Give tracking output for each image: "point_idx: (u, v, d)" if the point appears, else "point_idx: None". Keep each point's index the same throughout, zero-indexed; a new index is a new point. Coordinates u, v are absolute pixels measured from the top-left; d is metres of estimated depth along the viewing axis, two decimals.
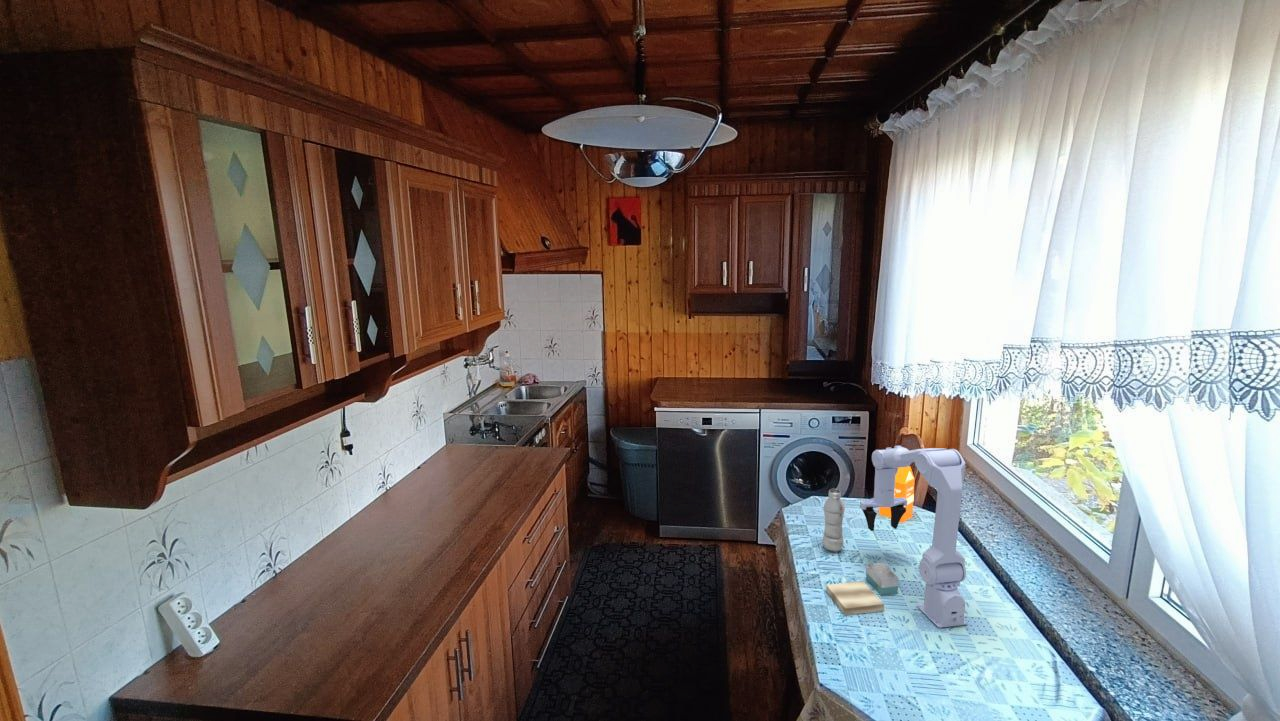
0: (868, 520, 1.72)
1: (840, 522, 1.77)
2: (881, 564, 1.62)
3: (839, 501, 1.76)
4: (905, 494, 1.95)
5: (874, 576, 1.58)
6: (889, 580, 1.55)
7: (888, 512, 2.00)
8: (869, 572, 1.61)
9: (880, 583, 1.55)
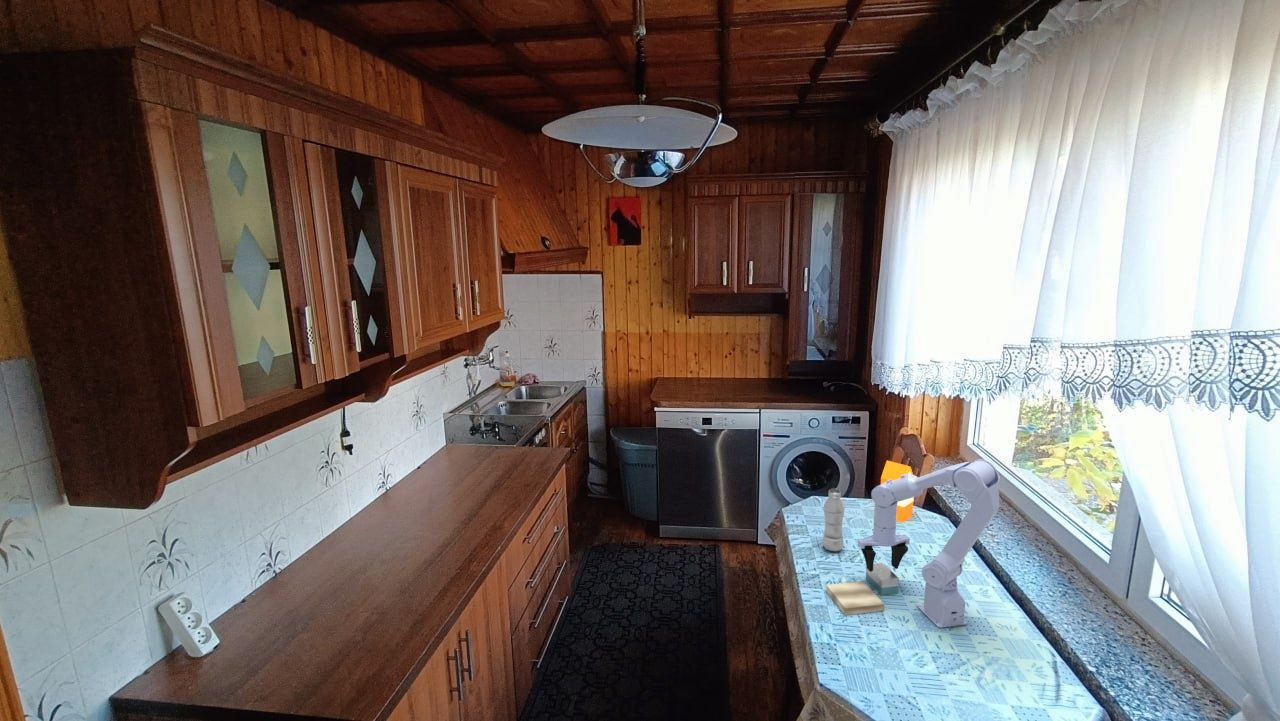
0: (867, 559, 1.58)
1: (840, 522, 1.77)
2: (881, 564, 1.62)
3: (839, 501, 1.76)
4: None
5: (874, 576, 1.58)
6: (889, 579, 1.55)
7: None
8: (869, 572, 1.61)
9: (880, 583, 1.55)
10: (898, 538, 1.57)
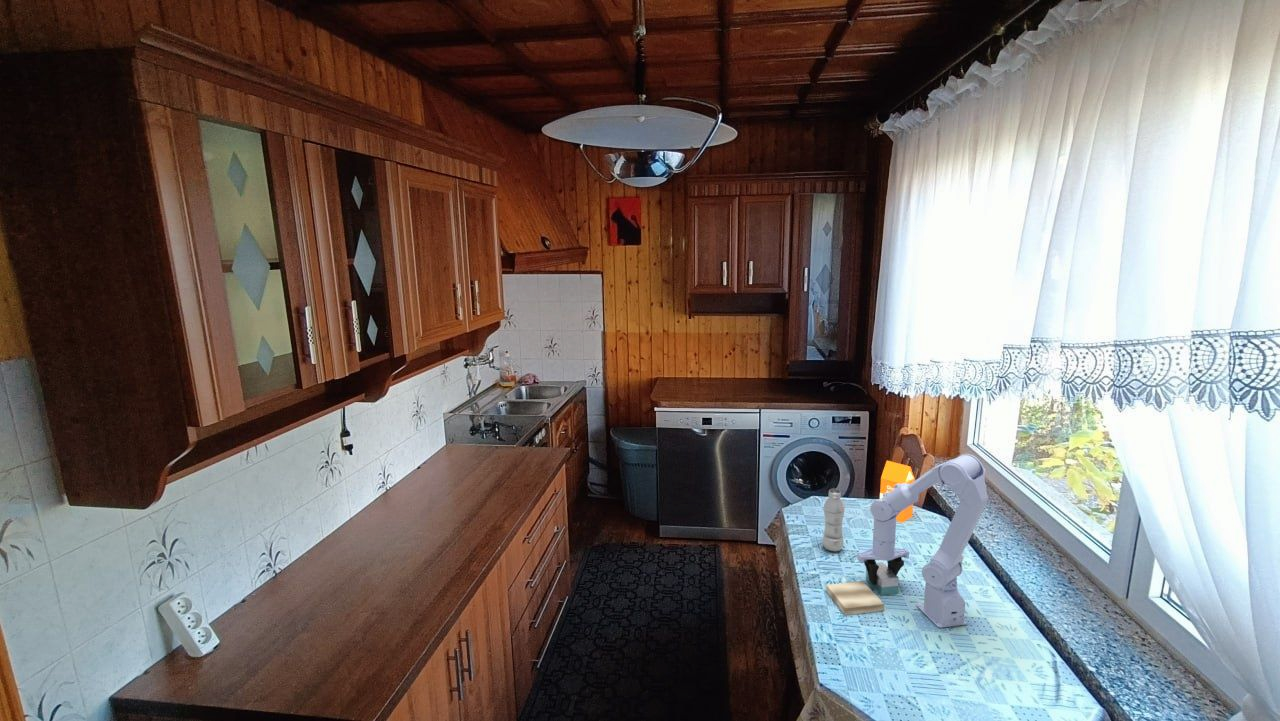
0: (869, 573, 1.59)
1: (840, 522, 1.77)
2: (881, 563, 1.62)
3: (839, 501, 1.76)
4: None
5: None
6: (889, 579, 1.55)
7: None
8: None
9: (880, 583, 1.55)
10: (897, 552, 1.58)
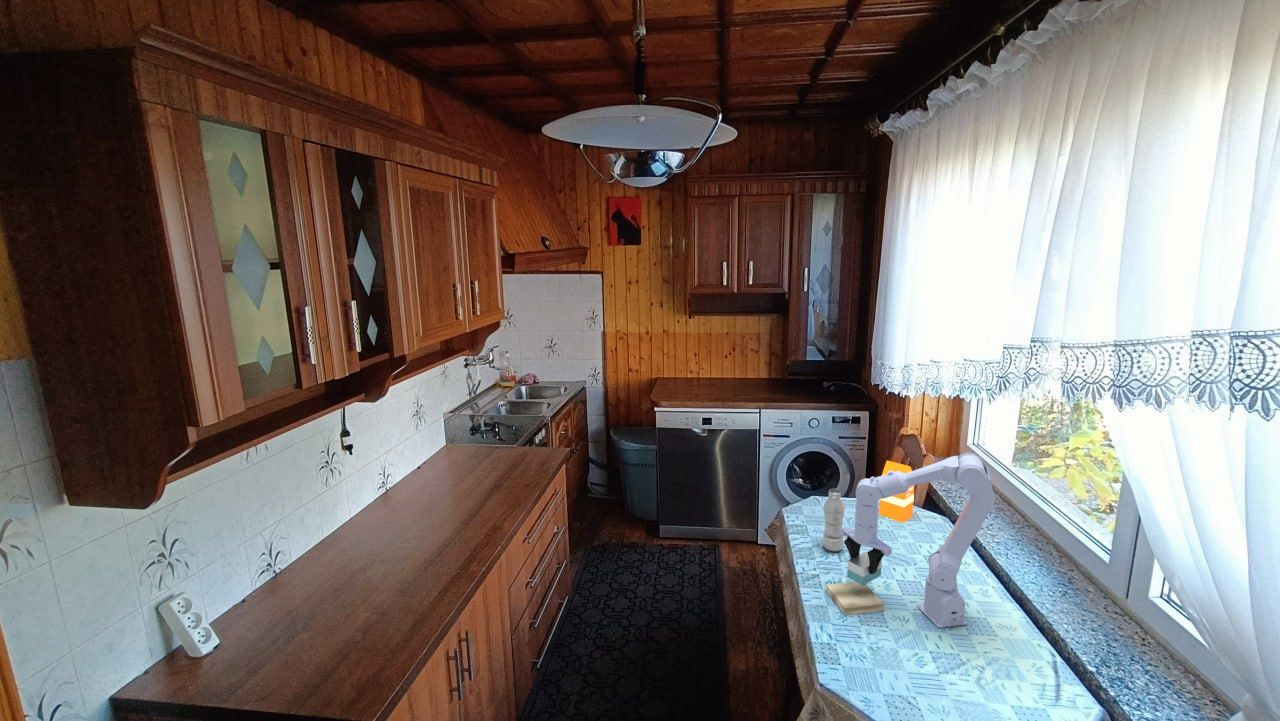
0: None
1: (840, 522, 1.77)
2: None
3: (839, 501, 1.76)
4: (905, 494, 1.95)
5: None
6: (855, 565, 1.52)
7: (888, 512, 2.00)
8: None
9: None
10: (878, 545, 1.49)
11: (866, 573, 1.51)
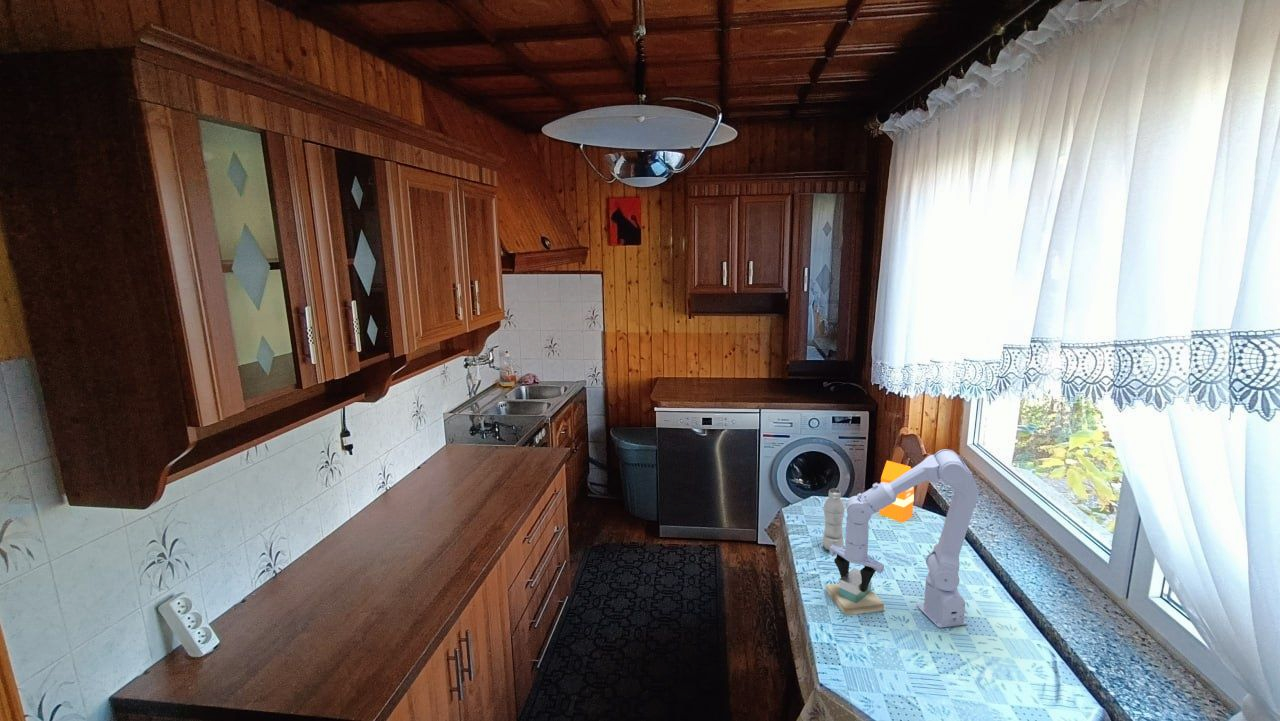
0: None
1: (840, 522, 1.77)
2: None
3: (839, 501, 1.76)
4: (905, 494, 1.95)
5: None
6: (847, 583, 1.50)
7: (888, 512, 2.00)
8: None
9: None
10: (870, 562, 1.48)
11: (859, 591, 1.49)
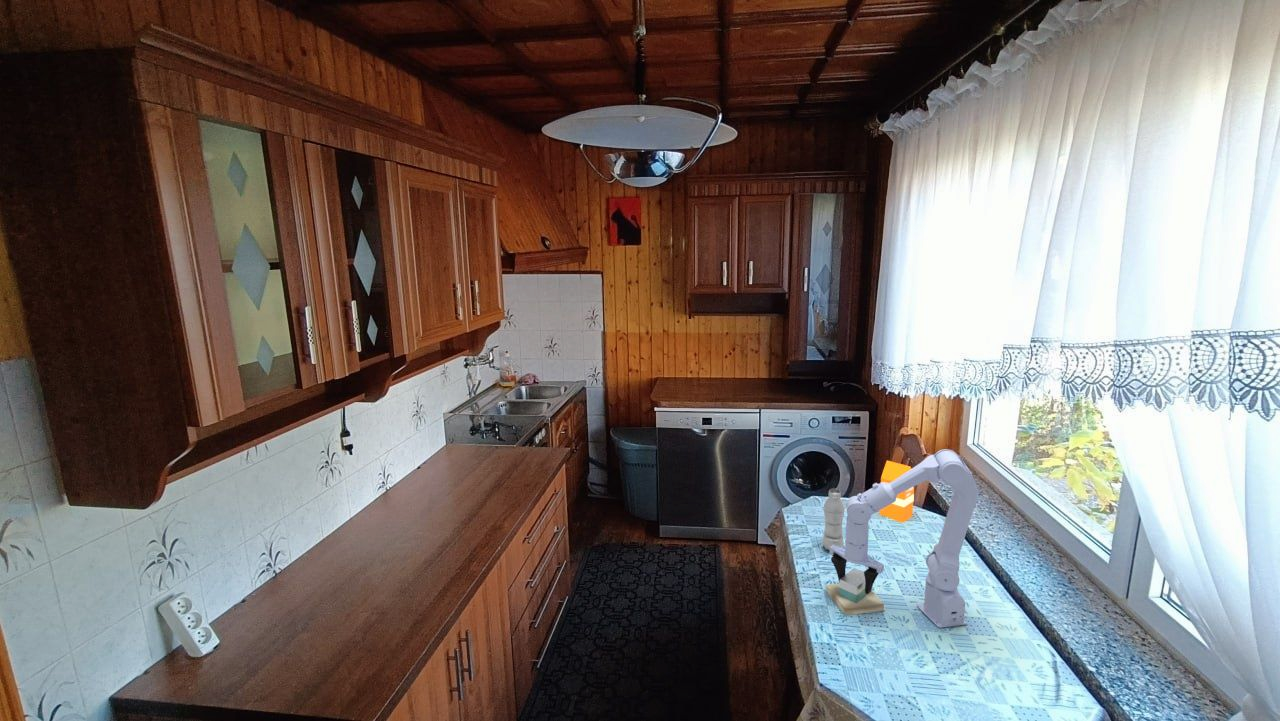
0: None
1: (840, 522, 1.77)
2: None
3: (839, 501, 1.76)
4: (905, 494, 1.95)
5: None
6: (847, 583, 1.50)
7: (888, 512, 2.00)
8: None
9: None
10: (870, 562, 1.48)
11: (859, 591, 1.49)
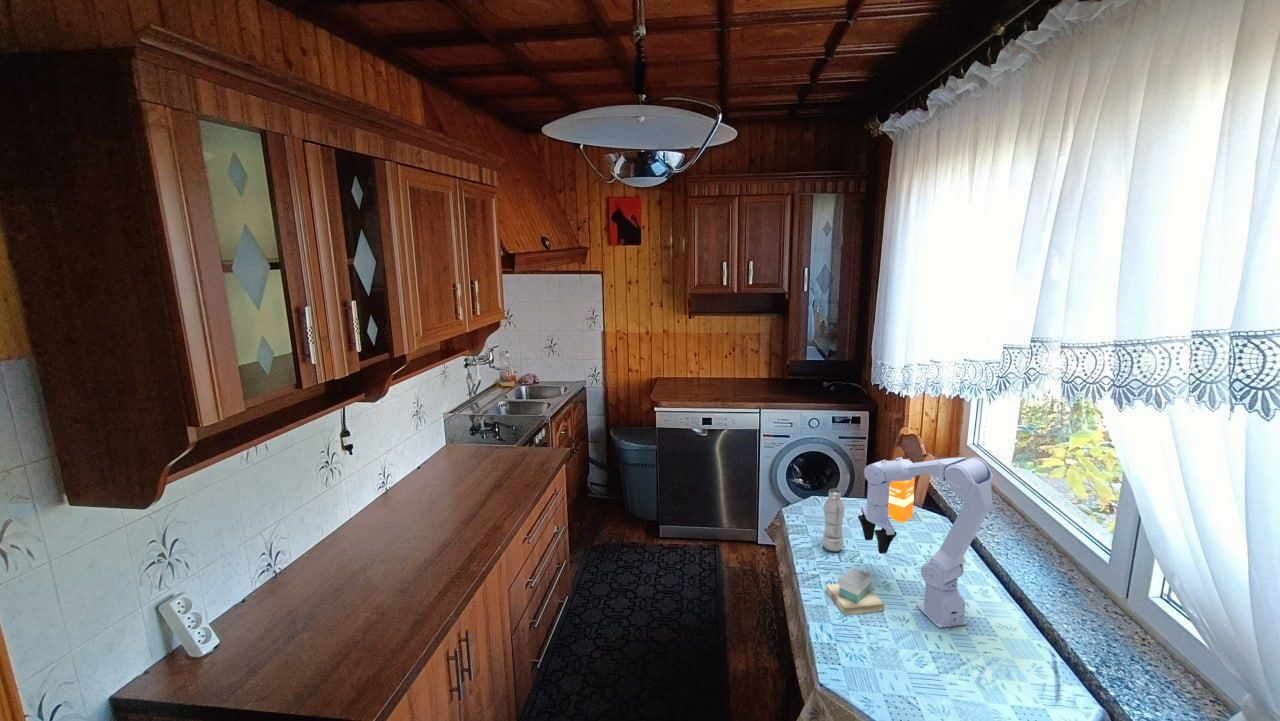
0: None
1: (840, 522, 1.77)
2: (867, 574, 1.53)
3: (839, 501, 1.76)
4: (905, 494, 1.95)
5: None
6: (847, 583, 1.50)
7: (888, 512, 2.00)
8: None
9: None
10: (884, 524, 1.56)
11: (859, 591, 1.49)
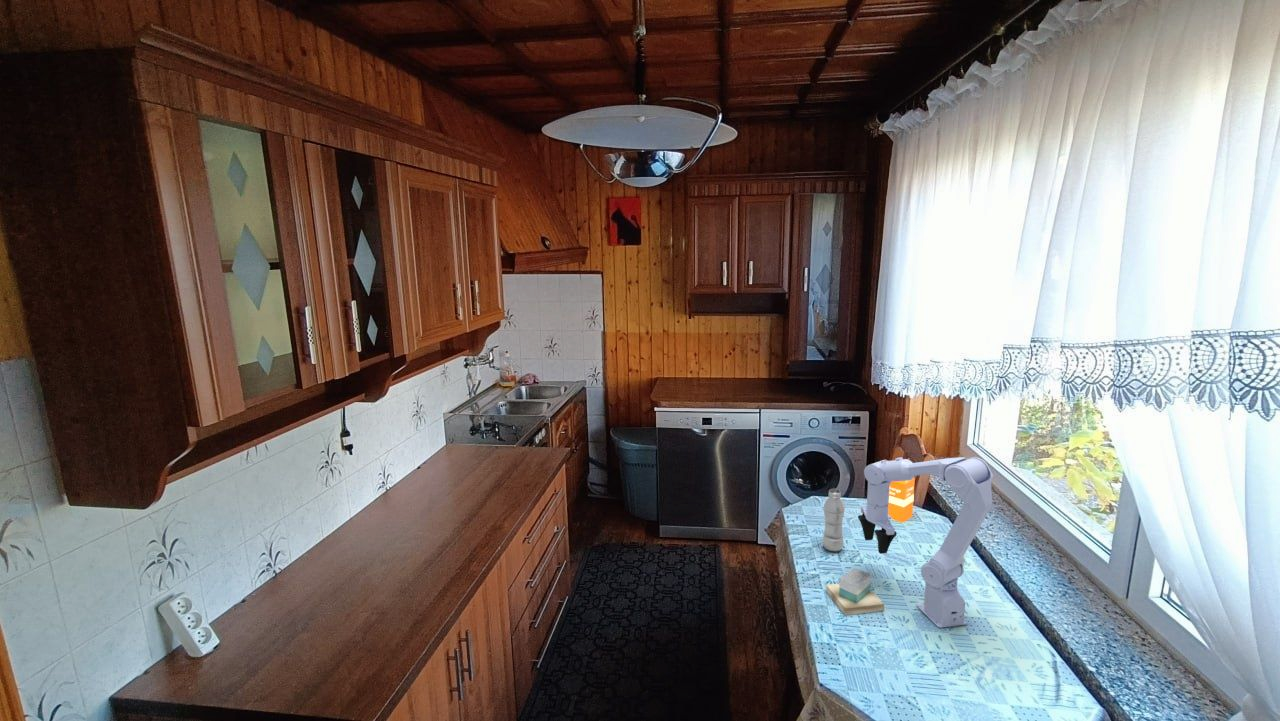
0: None
1: (840, 522, 1.77)
2: (867, 574, 1.53)
3: (839, 501, 1.76)
4: (905, 494, 1.95)
5: None
6: (847, 583, 1.50)
7: (888, 512, 2.00)
8: None
9: None
10: (884, 524, 1.56)
11: (859, 591, 1.49)
